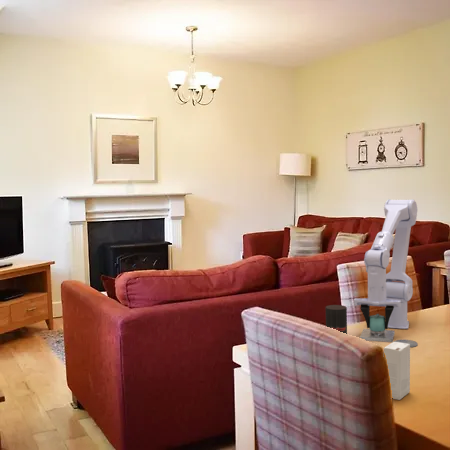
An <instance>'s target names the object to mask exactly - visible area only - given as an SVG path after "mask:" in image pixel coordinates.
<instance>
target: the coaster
mask: <svg viewBox="0 0 450 450" xmlns="http://www.w3.org/2000/svg"><path fill="white" fill-rule="evenodd" d="M393 342H401V343H407V344H410V348H416V347H418V344H419V343H418V342H417V341H415V340H411V339H395V340H393Z"/></svg>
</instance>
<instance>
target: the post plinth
mask: <svg viewBox="0 0 450 450" xmlns="http://www.w3.org/2000/svg"><path fill="white" fill-rule="evenodd" d="M394 336H395V330H391V329H385V330H384V331H372V330H370V329H369V328H363V329H362V331H361V332H360V336H359V339H360V338H362V339H365V340H364V341H371V342H386V343H393V342H394V338H395V337H394Z"/></svg>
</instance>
